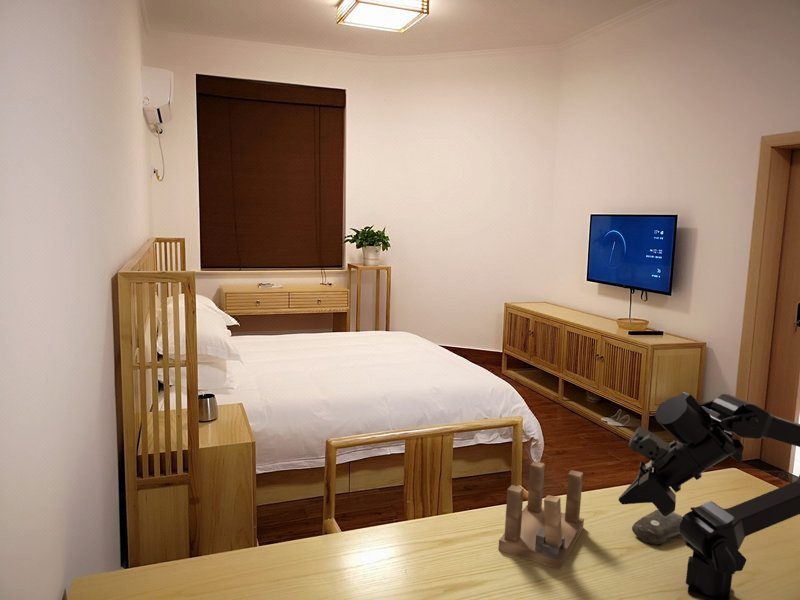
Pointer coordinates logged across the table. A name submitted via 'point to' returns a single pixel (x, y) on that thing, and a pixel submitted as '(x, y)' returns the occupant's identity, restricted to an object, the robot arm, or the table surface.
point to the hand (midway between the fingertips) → (620, 501)
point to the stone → (658, 527)
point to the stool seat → (541, 520)
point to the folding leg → (552, 520)
